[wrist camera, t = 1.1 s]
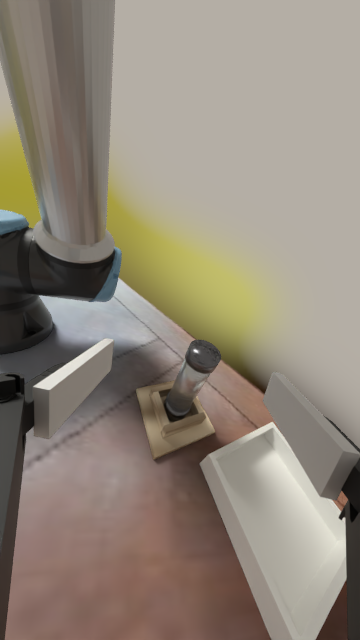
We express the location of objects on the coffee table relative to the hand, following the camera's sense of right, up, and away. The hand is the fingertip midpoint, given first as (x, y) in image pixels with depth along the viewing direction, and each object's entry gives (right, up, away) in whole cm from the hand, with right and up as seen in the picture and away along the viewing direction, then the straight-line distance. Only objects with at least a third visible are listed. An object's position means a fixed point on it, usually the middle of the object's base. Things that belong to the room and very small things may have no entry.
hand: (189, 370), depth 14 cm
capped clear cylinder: (-2, -13, +19) cm, 23 cm away
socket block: (-2, -14, +20) cm, 24 cm away
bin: (+13, -24, +13) cm, 30 cm away
